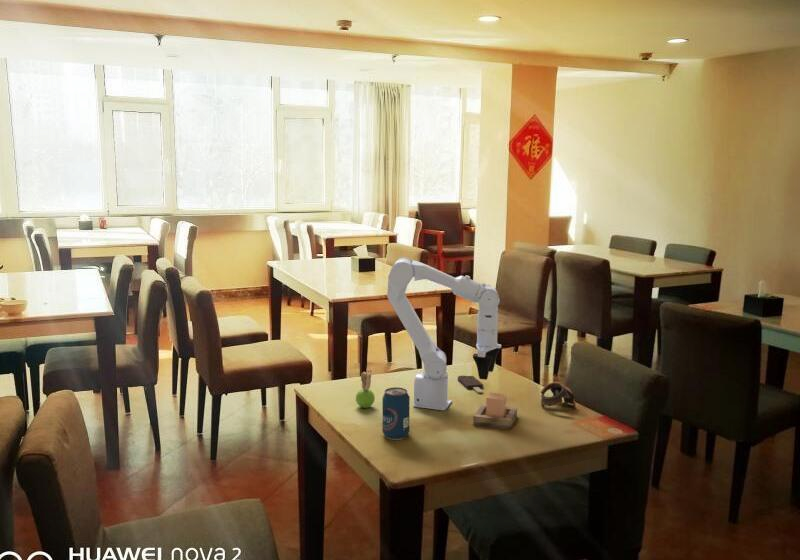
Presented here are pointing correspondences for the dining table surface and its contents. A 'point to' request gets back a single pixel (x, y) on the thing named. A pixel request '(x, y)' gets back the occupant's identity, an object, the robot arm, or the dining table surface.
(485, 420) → the walnut base
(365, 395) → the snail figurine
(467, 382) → the ice cream bar
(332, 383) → the dining table surface
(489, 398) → the terracotta block
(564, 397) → the dark looped band sculpture
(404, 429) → the soda can
